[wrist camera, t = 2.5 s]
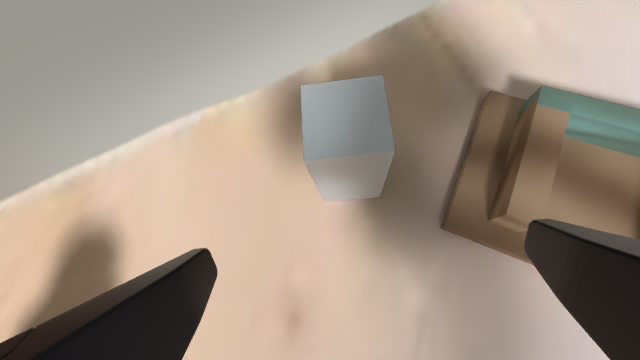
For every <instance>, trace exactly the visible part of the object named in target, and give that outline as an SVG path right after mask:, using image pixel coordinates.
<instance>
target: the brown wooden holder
mask: <svg viewBox="0 0 640 360" xmlns="http://www.w3.org/2000/svg"><path fill="white" fill-rule="evenodd" d="M538 219H553V220H557V221H561V222H566V223H570V224H574V225H579V226H583V227H587V228H591V229H596V230H600V231H604V232H609V233H613V234H617V235H622V236H626V237H630V238H635V239H639V240H640V110H639V109H635V108H631V107H627V106H623V105H619V104H615V103H611V102H607V101H603V100H599V99H595V98H591V97H587V96H583V95H579V94H575V93H570V92H566V91H562V90H558V89H554V88H550V87H546V86H541V87H540V88H539V89H538V90H537V91H536V92H535V93H534V94H533V95H532V96H531V97H530V98H529V99H528V100H527V101H526V100H523V99H519V98H515V97H511V96H507V95H504V94H500V93H496V92H492V91H490V92H489V93H488V94H487V96H486V97H485V98H484V101H483V104H482V107H481V110H480V113H479V116H478V119H477V122H476V125H475V128H474V131H473V134H472V137H471V140H470V143H469V146H468V149H467V152H466V155H465V158H464V161H463V164H462V167H461V170H460V173H459V176H458V179H457V182H456V185H455V188H454V191H453V194H452V197H451V200H450V203H449V206H448V209H447V212H446V215H445V218H444V221H443V224H442V227H441V228H442V229H444V230H447V231H449V232H452V233H455V234H457V235H460V236H462V237H465V238H467V239H470V240H472V241H475V242H477V243H480V244H482V245H485V246H487V247H490V248H492V249H495V250H497V251H500V252H502V253H505V254H507V255H510V256H512V257H515V258H517V259H520V260H522V261H525V262H527V263H530V264H532V265H533V263H532V262H531V260H530V259H529V258H528V256H527V255H526V252H525V250H524V242H525V238H526V234H527V230H528V226H529V223H530V222H531V221H532V220H538Z"/></svg>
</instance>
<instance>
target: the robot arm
mask: <svg viewBox="0 0 640 360" xmlns="http://www.w3.org/2000/svg"><path fill="white" fill-rule="evenodd" d="M524 250H525V252H526V255H527V256H528V258H529V259H530V260H531V262H532V263H533V265H534V266H535V267H536V269H537V270H538V272H539V273H540V275H541V276H542V277H543V279H544V280H545V282H546V283H547V284H548V286H549V287H550V289H551V290H552V291H553V293H554V294H555V295H556V297H557V298H558V299H559V301H560V302H561V303H562V304H563V306H564V307H565V308H566V309H567V310H568V312H569V313H570V314H571V315H572V316H573V317H574V319H575V320H576V321H577V322H578V323H579V324H580V325H581V327H582V328H583V329H584V330H585V331H586V332H587V333H588V335H589V336H590V337H591V338H592V339H593V340H594V342H595V343H596V344H597V345H598V346H599V347H600V348H601V350H602V351H603V352H604V353H605V354H606V355H607V356H608V358H609V359H610V360H640V240H639V239H635V238H630V237H626V236H622V235H617V234H613V233H609V232H604V231H600V230H596V229H591V228H587V227H583V226H579V225H574V224H570V223H566V222H561V221H557V220H553V219H538V220H532V221H531V222H530V223H529V226H528V230H527V234H526V238H525V242H524ZM216 278H217V267H216V265H215V262H214V260H213V258H212V255H211V253H210V251H209V250H208V249H207V248H200V249H193V250H191V251H189V252H187V253H185V254H183V255H181V256H179V257H177V258H175V259H173V260H171V261H168V262H166V263H164V264H162V265H160V266H158V267H156V268H154V269H152V270H150V271H148V272H146V273H144V274H142V275H140V276H138V277H136V278H134V279H132V280H130V281H128V282H126V283H124V284H122V285H119V286H117V287H115V288H113V289H111V290H109V291H107V292H105V293H103V294H101V295H99V296H97V297H95V298H93V299H91V300H89V301H87V302H85V303H83V304H81V305H79V306H77V307H75V308H73V309H70V310H68V311H66V312H64V313H62V314H60V315H58V316H56V317H54V318H52V319H50V320H48V321H46V322H44V323H42V324H40V325H38V326H37V327H36V328H30V329H28V330H26V331H24V332H22V333H20V334H18V335H16V336H14V337H12V338H10V339H8V340H6V341H4V342H2V343H0V360H182V358H183V356H184V354H185V352H186V350H187V348H188V346H189V344H190V342H191V340H192V338H193V336H194V334H195V332H196V330H197V327H198V325H199V323H200V321H201V318H202V316H203V313H204V311H205V308H206V305H207V303H208V300H209V297H210V294H211V292H212V289H213V286H214V283H215V281H216Z"/></svg>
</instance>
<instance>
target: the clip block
mask: <svg viewBox="0 0 640 360" xmlns="http://www.w3.org/2000/svg"><path fill="white" fill-rule="evenodd" d="M301 110H302V134H303V158H304V162H305V164H306V166H307V168H308V170H309V172H310V174H311V176H312V178H313V180H314V182H315V184H316V186H317V188H318V190H319V192H320V194H321V196H322V198H323V200H324V202H332V201H343V200H354V199H365V198H377V197H380V196H381V193H382V190H383V187H384V184H385V181H386V178H387V175H388V172H389V169H390V166H391V163H392V160H393V157H394V154H395V146H394V140H393V134H392V127H391V121H390V115H389V109H388V103H387V97H386V90H385V84H384V78H383V74H382V75H375V76H368V77H360V78H353V79H346V80H339V81H331V82H324V83H317V84H309V85H302V86H301Z"/></svg>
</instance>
